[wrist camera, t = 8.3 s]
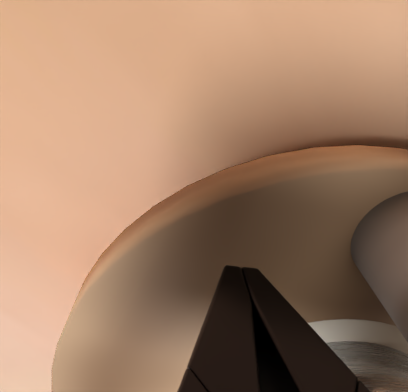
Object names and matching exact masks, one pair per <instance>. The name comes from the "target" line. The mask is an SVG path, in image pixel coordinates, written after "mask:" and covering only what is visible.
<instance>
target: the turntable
mask: <svg viewBox="0 0 408 392" xmlns="http://www.w3.org/2000/svg"><path fill="white" fill-rule="evenodd" d="M226 265H230V266H239V267H240V268H242V267H250V268H257V269H259V270H260V271H261V273H262V274H263V275H264V276H265V277H266V278H267V279H268V280H269V281H270V282H271V283H272V285H273V286H274V287H275V288H276V289H277V290H278V291H279V292H280V293H281V294H282V296H283V297H284V298H285V299H286V300H287V301H288V302H289V303H290V304H291V305H292V306H293V308H294V309H295V310H296V311H297V312H298V313H299V314H300V315H301V316H302V317H303V318H304V320H305V321H306V322H307V323H308V324H309V325H310V326H311V327H312V328H313V329H314V330H315V332H316V333H317V334H318V335H319V336H320V337H321V338H322V339H323V340H324V341H325V343H329V342H341V341H357V342H369V343H376V344H381V345H385V346H389V347H392V348H394V349H397V350H400V351H402V352H404V353H406V354H407V355H408V150H407V149H402V148H392V147H378V146H363V145H349V146H332V147H315V148H308V149H302V150H297V151H291V152H286V153H280V154H275V155H269V156H266V157H262V158H259V159H256V160H253V161H249V162H246V163H243V164H240V165H236V166H233V167H230V168H227V169H224V170H222V171H220V172H218V173H215V174H213V175H211V176H209V177H206V178H204V179H202V180H200V181H197V182H195V183H193V184H191V185H188V186H186V187H185V188H183V189H181V190H180V191H178V192H176V193H175V194H173V195H172V196H170V197H168V198H167V199H165V200H163V201H162V202H160V203H158V204H157V205H155V206H153V207H152V208H151V209H150V210H148V211H147V212H146V213H145V214H143V215H142V216H141V217H140V218H138V219H137V220H136V221H135V222H133V223H132V224H131V225H130V226H128V227H127V228H126V229H125V230H124V231H123V232H122V233H121V234H120V235H119V236H118V237H117V238H116V239H115V240H114V241H113V243H112V244H111V245H110V246H109V247H108V248H107V249H106V250H105V251H104V252H103V253H102V255H101V256H100V258H99V259H98V261H97V262H96V264H95V265H94V267H93V268H92V269H91V271H90V272H89V274H88V275H87V277H86V279H85V281H84V283H83V285H82V287H81V290H80V292H79V294H78V296H77V299H76V301H75V303H74V306H73V308H72V310H71V313H70V315H69V317H68V320H67V322H66V324H65V327H64V329H63V332H62V334H61V336H60V339H59V341H58V343H57V347H56V352H55V356H54V361H53V365H52V392H177V391H178V388H179V386H180V383H181V381H182V378H183V375H184V373H185V370H186V369H187V365H188V362H189V360H190V357H191V354H192V352H193V349H194V346H195V344H196V341H197V338H198V336H199V333H200V330H201V327H202V325H203V322H204V319H205V317H206V314H207V311H208V309H209V306H210V303H211V301H212V298H213V295H214V293H215V290H216V287H217V284H218V282H219V279H220V276H221V274H222V271H223V268H224V266H226Z"/></svg>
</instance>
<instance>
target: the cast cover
mask: <svg viewBox="0 0 408 392" xmlns="http://www.w3.org/2000/svg"><path fill="white" fill-rule="evenodd" d="M326 344H327V345H328V346H329V347H330V348H331V349H332V350H333V351H334V352H335V353H336V355H337V356H338V357H339V358H340V359H341V360H342V361H343V362H344V363H345V364H346V365H347V367H348V368H349V369H350V370H351V371H352V372H353V373H354V374H355V375H356V376H357V378H358V381H361V382H362V383H363V384H364V385H365V386H366V387H367V388H368V389H369V390H370V392H408V355H407V354H406V353H404V352H402V351H400V350H397V349H394V348H392V347H389V346H385V345H381V344H376V343H369V342H357V341H341V342H329V343H326Z"/></svg>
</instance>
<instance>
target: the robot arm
mask: <svg viewBox="0 0 408 392" xmlns="http://www.w3.org/2000/svg"><path fill="white" fill-rule="evenodd" d="M177 392H370V390H369V389H368V388H367V387H366V386H365V385H364V384H363V383H362V382H361V381H358V378H357V376H356V375H355V374H354V373H353V372H352V371H351V370H350V369H349V368H348V367H347V365H346V364H345V363H344V362H343V361H342V360H341V359H340V358H339V357H338V356H337V355H336V353H335V352H334V351H333V350H332V349H331V348H330V347H329V346H328V345H327V344H326V343H325V341H324V340H323V339H322V338H321V337H320V336H319V335H318V334H317V333H316V332H315V330H314V329H313V328H312V327H311V326H310V325H309V324H308V323H307V322H306V321H305V320H304V318H303V317H302V316H301V315H300V314H299V313H298V312H297V311H296V310H295V309H294V308H293V306H292V305H291V304H290V303H289V302H288V301H287V300H286V299H285V298H284V297H283V296H282V294H281V293H280V292H279V291H278V290H277V289H276V288H275V287H274V286H273V285H272V283H271V282H270V281H269V280H268V279H267V278H266V277H265V276H264V275H263V274H262V273H261V271H260V270H259V269H257V268H250V267H242V268H240V267H239V266H230V265H226V266H224V268H223V271H222V274H221V276H220V279H219V282H218V284H217V287H216V290H215V293H214V295H213V298H212V301H211V303H210V306H209V309H208V311H207V314H206V317H205V319H204V322H203V325H202V327H201V330H200V333H199V336H198V338H197V341H196V344H195V346H194V349H193V352H192V354H191V357H190V360H189V362H188V365H187V369H186V370H185V373H184V375H183V378H182V381H181V383H180V386H179V388H178V391H177Z"/></svg>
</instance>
